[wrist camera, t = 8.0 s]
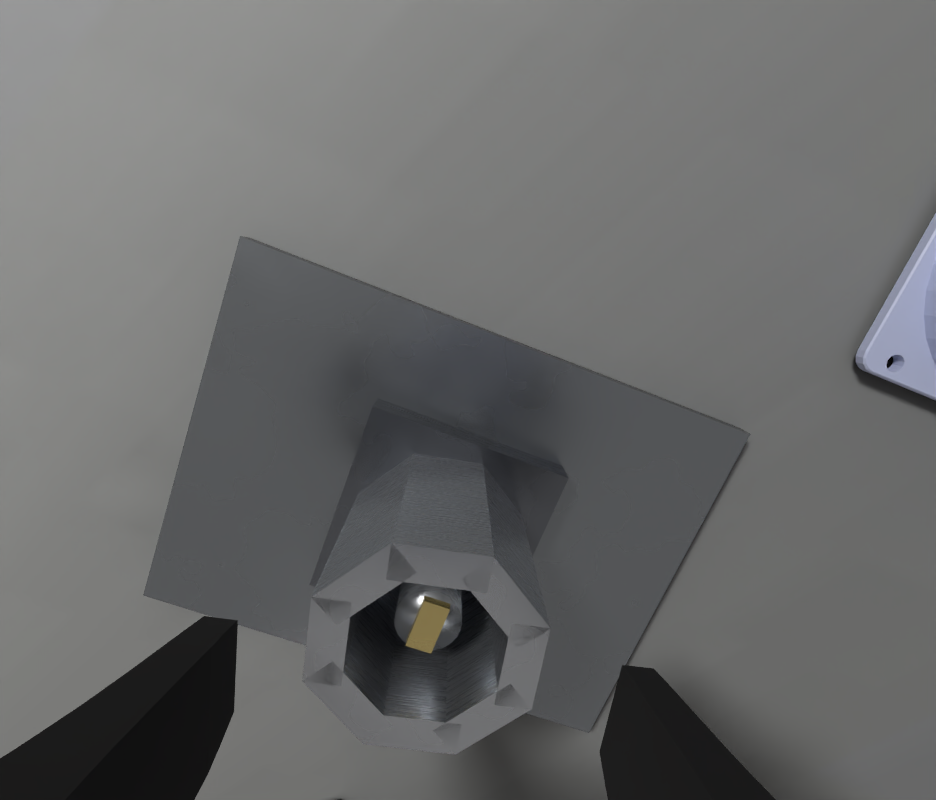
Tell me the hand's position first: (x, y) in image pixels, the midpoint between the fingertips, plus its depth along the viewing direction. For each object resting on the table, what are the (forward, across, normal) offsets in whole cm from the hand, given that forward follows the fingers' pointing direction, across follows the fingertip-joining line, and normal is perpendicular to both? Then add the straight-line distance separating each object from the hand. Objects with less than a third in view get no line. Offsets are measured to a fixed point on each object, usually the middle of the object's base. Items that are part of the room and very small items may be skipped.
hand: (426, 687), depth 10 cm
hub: (+6, 0, 0) cm, 6 cm away
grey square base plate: (+8, 0, 0) cm, 8 cm away
